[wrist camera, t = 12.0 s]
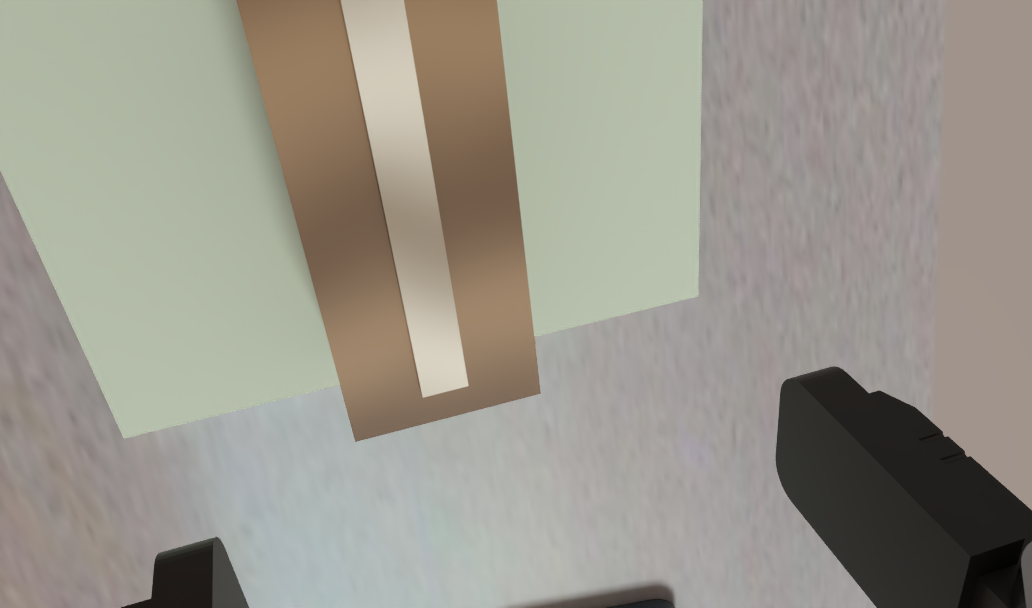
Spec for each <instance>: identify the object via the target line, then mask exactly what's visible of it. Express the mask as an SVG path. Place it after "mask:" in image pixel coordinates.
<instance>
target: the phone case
mask: <svg viewBox="0 0 1032 608" xmlns="http://www.w3.org/2000/svg"><path fill="white" fill-rule="evenodd" d="M609 608H675V607H674V606H673V605H672V604H671V603H669V602H667V601H665V600H660V599H655V600H648V601H642V602H637V603H631V604H626V605H620V606H615V607H609Z"/></svg>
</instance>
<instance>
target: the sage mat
mask: <svg viewBox="0 0 1032 608" xmlns="http://www.w3.org/2000/svg"><path fill="white" fill-rule="evenodd" d="M497 6H498V15H499V24H500V33H501V42H502V51H503V60H504V69H505V78H506V87H507V96H508V105H509V114H510V123H511V132H512V141H513V150H514V159H515V168H516V177H517V186H518V195H519V204H520V213H521V222H522V231H523V240H524V249H525V258H526V267H527V276H528V285H529V294H530V303H531V312H532V321H533V330H534V337H536V336H540V335H544V334H548V333H552V332H556V331H560V330H564V329H568V328H572V327H576V326H580V325H584V324H588V323H592V322H596V321H600V320H604V319H608V318H612V317H617V316H621V315H625V314H629V313H633V312H637V311H641V310H645V309H649V308H653V307H657V306H661V305H665V304H669V303H673V302H677V301H681V300H685V299H689V298H693V297H697V296H698V279H699V214H700V148H701V83H702V18H703V0H497ZM0 171H1V173H2V175H3V177H4V179H5V182H6V184H7V186H8V188H9V190H10V192H11V195H12V197H13V199H14V201H15V203H16V206H17V208H18V210H19V212H20V214H21V216H22V219H23V221H24V223H25V225H26V227H27V229H28V232H29V234H30V236H31V238H32V240H33V242H34V245H35V247H36V249H37V251H38V253H39V255H40V258H41V260H42V262H43V264H44V266H45V268H46V271H47V273H48V275H49V277H50V279H51V281H52V284H53V286H54V288H55V290H56V292H57V294H58V297H59V299H60V301H61V303H62V305H63V307H64V310H65V312H66V314H67V316H68V318H69V320H70V323H71V325H72V327H73V329H74V331H75V333H76V336H77V338H78V340H79V342H80V344H81V346H82V349H83V351H84V353H85V355H86V357H87V359H88V362H89V364H90V366H91V368H92V370H93V372H94V375H95V377H96V379H97V381H98V383H99V385H100V388H101V390H102V392H103V394H104V396H105V398H106V401H107V403H108V405H109V407H110V409H111V411H112V414H113V416H114V418H115V420H116V422H117V424H118V427H119V429H120V431H121V433H122V435H123V437H124V438H128V437H132V436H136V435H140V434H144V433H148V432H152V431H156V430H160V429H165V428H169V427H173V426H177V425H181V424H185V423H189V422H193V421H197V420H201V419H205V418H209V417H213V416H217V415H221V414H225V413H229V412H233V411H237V410H241V409H245V408H249V407H253V406H257V405H261V404H265V403H269V402H273V401H278V400H282V399H286V398H290V397H294V396H298V395H302V394H306V393H310V392H314V391H318V390H322V389H326V388H330V387H334V386H338V385H340V383H339V379H338V375H337V371H336V368H335V364H334V360H333V357H332V353H331V349H330V346H329V342H328V338H327V334H326V331H325V327H324V323H323V320H322V316H321V312H320V309H319V305H318V301H317V297H316V294H315V290H314V286H313V283H312V279H311V275H310V272H309V268H308V264H307V260H306V257H305V253H304V249H303V246H302V242H301V238H300V235H299V231H298V227H297V223H296V220H295V216H294V212H293V209H292V205H291V201H290V197H289V194H288V190H287V186H286V183H285V179H284V175H283V172H282V168H281V164H280V160H279V157H278V153H277V149H276V146H275V142H274V138H273V135H272V131H271V127H270V123H269V120H268V116H267V112H266V109H265V105H264V101H263V98H262V94H261V90H260V86H259V83H258V79H257V75H256V72H255V68H254V64H253V61H252V57H251V53H250V49H249V46H248V42H247V38H246V35H245V31H244V27H243V24H242V20H241V16H240V12H239V9H238V5H237V1H236V0H0Z"/></svg>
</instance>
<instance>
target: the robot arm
mask: <svg viewBox="0 0 1032 608" xmlns="http://www.w3.org/2000/svg"><path fill="white" fill-rule="evenodd" d="M776 467H777V472H778V475H779V479H780V481H781V484H782V486H783V488H784V490H785V492H786V494H787V496H788V497H789V499H790V500H791V502H792V503H793V504H794V505H795V507H796V508H797V509H798V510H799V512H800V513H801V514H802V515H803V516H804V518H805V519H806V520H807V521H808V523H809V524H810V525H811V526H812V528H813V529H814V530H815V531H816V533H817V534H818V535H819V536H820V538H821V539H822V540H823V541H824V543H825V544H826V545H827V546H828V548H829V549H830V550H831V551H832V553H833V554H834V555H835V556H836V557H837V559H838V560H839V561H840V562H841V564H842V565H843V566H844V567H845V569H846V570H847V571H848V572H849V574H850V575H851V576H852V577H853V579H854V580H855V581H856V582H857V584H858V585H859V586H860V587H861V589H862V590H863V591H864V592H865V594H866V595H867V596H868V597H869V598H870V600H871V601H872V602H873V603H874V605H875V606H876V607H877V608H1032V510H1031V509H1029V508H1028V507H1027V506H1026V505H1025V504H1024V503H1023V502H1022V501H1020V500H1019V499H1018V498H1017V497H1016V496H1015V495H1014V494H1012V493H1011V492H1010V491H1009V490H1008V489H1007V488H1006V487H1005V486H1003V485H1002V484H1001V483H1000V482H999V481H998V480H996V479H995V478H994V477H993V476H992V475H991V474H989V472H988V471H986V470H985V469H984V468H983V467H982V466H981V465H980V464H979V463H977V462H976V461H975V460H974V459H973V458H972V457H967V456H966V455H965V451H964V450H963V449H962V448H960V447H959V446H958V445H957V444H956V443H955V442H953V440H951V439H950V438H949V437H944V436H943V432H942V431H941V430H940V429H939V428H938V427H937V426H936V425H935V424H933V423H932V422H931V421H930V420H929V419H928V418H927V417H925V416H924V415H923V414H922V413H921V412H920V411H919V410H918V409H916V408H915V407H913V406H911V405H909V404H907V403H905V402H902V401H900V400H898V399H896V398H894V397H892V396H890V395H888V394H886V393H884V392H882V391H876V392H873V393H868V392H867V391H866V390H865V389H864V388H862V387H861V386H860V385H859V384H858V383H857V382H856V381H855V380H854V379H853V378H852V377H851V376H850V375H848V374H847V373H846V372H845V371H844V370H842V369H841V368H839V367H829V368H825V369H822V370H818V371H815V372H811V373H808V374H804V375H800V376H797V377H793V378H790V379H787V380H785V381H784V383H783V384H782V387H781V392H780V406H779V419H778V433H777V447H776ZM121 608H249V606H248V604H247V601H246V599H245V597H244V594H243V592H242V589H241V587H240V584H239V582H238V579H237V577H236V574H235V572H234V570H233V567H232V565H231V562H230V560H229V557H228V555H227V552H226V550H225V548H224V545H223V543H222V541H221V540H220V539H219V538H218V537H215V538H211V539H207V540H204V541H200V542H197V543H193V544H190V545H186V546H182V547H179V548H175V549H172V550H168V551H165V552H161V553H159V554H157V556H156V559H155V564H154V575H153V586H152V597H151V599H149V600H145V601H142V602H138V603H135V604H131V605H128V606H125V607H121Z"/></svg>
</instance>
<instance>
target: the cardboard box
mask: <svg viewBox="0 0 1032 608" xmlns="http://www.w3.org/2000/svg"><path fill="white" fill-rule="evenodd" d="M236 1H237V5H238V9H239V12H240V16H241V20H242V24H243V27H244V31H245V35H246V38H247V42H248V46H249V49H250V53H251V57H252V61H253V64H254V68H255V72H256V75H257V79H258V83H259V86H260V90H261V94H262V98H263V101H264V105H265V109H266V112H267V116H268V120H269V123H270V127H271V131H272V135H273V138H274V142H275V146H276V149H277V153H278V157H279V160H280V164H281V168H282V172H283V175H284V179H285V183H286V186H287V190H288V194H289V197H290V201H291V205H292V209H293V212H294V216H295V220H296V223H297V227H298V231H299V235H300V238H301V242H302V246H303V249H304V253H305V257H306V260H307V264H308V268H309V272H310V275H311V279H312V283H313V286H314V290H315V294H316V297H317V301H318V305H319V309H320V312H321V316H322V320H323V323H324V327H325V331H326V334H327V338H328V342H329V346H330V349H331V353H332V357H333V360H334V364H335V368H336V371H337V375H338V379H339V383H340V386H341V390H342V394H343V397H344V401H345V405H346V408H347V412H348V416H349V420H350V423H351V427H352V431H353V434H354V438H355V442H356V441H360V440H364V439H368V438H372V437H376V436H379V435H383V434H387V433H391V432H395V431H399V430H402V429H406V428H410V427H414V426H418V425H422V424H426V423H429V422H433V421H437V420H441V419H445V418H449V417H452V416H456V415H460V414H464V413H468V412H472V411H475V410H479V409H483V408H487V407H491V406H495V405H498V404H502V403H506V402H510V401H514V400H518V399H521V398H525V397H529V396H533V395H537V394H541V393H540V384H539V375H538V366H537V357H536V348H535V339H534V330H533V321H532V312H531V303H530V294H529V285H528V276H527V267H526V258H525V249H524V240H523V231H522V222H521V213H520V204H519V195H518V186H517V177H516V168H515V159H514V150H513V141H512V132H511V123H510V114H509V105H508V96H507V87H506V78H505V69H504V60H503V51H502V42H501V33H500V24H499V15H498V6H497V0H236Z"/></svg>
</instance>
